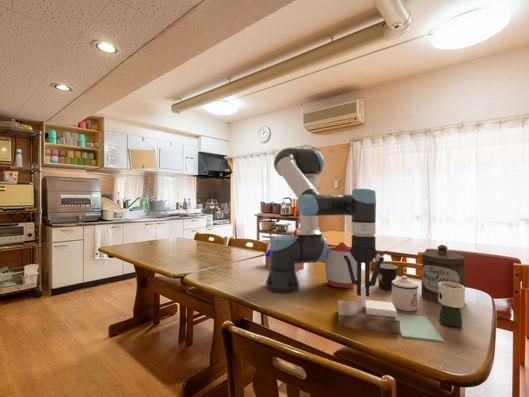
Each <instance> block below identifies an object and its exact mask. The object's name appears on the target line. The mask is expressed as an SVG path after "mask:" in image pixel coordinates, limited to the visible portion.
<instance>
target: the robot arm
mask: <svg viewBox="0 0 529 397" xmlns="http://www.w3.org/2000/svg"><path fill="white" fill-rule="evenodd" d="M273 166H274V170H275V171H276V173H277V174H278V175H279V176H280V177H282V178H283V179H284V181H285V182H286V184H287V185H288V187H289V188H290V189H291V191H292V192H293V193H294V195H295V196H296V198H297V201H296V206H297V211H298V213H299V231H298V232H297V233H296V235H293V234H283V235H277V236H274V237H272V238H271V239H270V242H269V243H270V244H269V249H270V268H269V272H268V274H267V278H266V280H265V289H266V290H268V291H269V292H272V293H277V294H278V293H279V294H290V293H295V292H297V291H298V290H299V289H300V282H299V278H298V275H297V272H296V271H295V265H296V264H300V263H304V264H309V263H310V264H311V263H313V264H314V263H320V262H323V261H324V260H325V257H326V255H327V251H328V246H329V245H328V242H327V239H326V238H325V237H324V236H323V233H322V232H321V231H320V230H319V216H323V217H324V216H351V234H352V235H351V246H350V247H351V249H350V252H349V253H347V254H344V259H345V260H346V262H347V265H348V269H349V273H350V277H351V281H352V284H354V286H355V285H356V294H357V296H358V297H359V301H360V305H361V307H366V300H367V297H369V296H370V288H371V287H372V286H373V287H374V286H376V283H377V280H378V273H379V269H380V265H381V264H383V262H384V261H385V257H384V256H382V255H380V254H379V253H378V252H377V248H376V236H375V235H376V219H377V218H376V215H377V214H376V213H377V197H376V196H377V195H376V194H377V193H376V190H375V189H373V188H354V189H352V191H351V194H345V193H344V194H321V193H320V192H319V191H318V190H317V179H318V178H319V177H320V174H321V173H322V172H323V170H324V157H323V155H322V154H321V152H320V151H319V150H317V149H312V148H297V147H296V148H295V147H294V148H293V147H287V148H286V147H285V148H284V149H281V150H280V151H279V152H278V153H277V154H276V156H275V157H274V161H273ZM351 255H352V256H353V258H354V259H355V260H356V262H357V279H356V280H355V278H354V274H353V270H352V266H351V262H350V259H351ZM374 259H375V263H374V268H373V270H372V275H371V276H370V269H371V268H370V267H371V266H370V265H371V263H372V261H373V260H374ZM363 264H364V284H362V266H363Z"/></svg>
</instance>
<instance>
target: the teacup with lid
mask: <svg viewBox="0 0 529 397" xmlns="http://www.w3.org/2000/svg"><path fill="white" fill-rule="evenodd" d="M391 284H392V291H391V302H392V303H393V305H394V307H395V309H396V310H400V311H404V312H415V311H417V310H418V289H419V284H418V283H417V282H414V281H413V280H411V279H409V278H408V276H406V275H402V276H401V277H399V278H396V279H395V280H393V281H392V282H391Z"/></svg>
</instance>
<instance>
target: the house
mask: <svg viewBox="0 0 529 397" xmlns="http://www.w3.org/2000/svg"><path fill="white" fill-rule="evenodd" d="M264 256H265V258H264V260H265V262H264V263H265V266H267V267H266V268H269V267H270V248H268V250H267V251H266V253H265V254H264ZM265 266H264V267H265ZM304 268H305V263H300V264H296V265H295V271H296V273H297V272H299V270H300V271H301V270H302V271H303V270H304Z"/></svg>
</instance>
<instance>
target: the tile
mask: <svg viewBox="0 0 529 397" xmlns="http://www.w3.org/2000/svg"><path fill="white" fill-rule="evenodd" d="M365 311H366V314H372V315H381V316H390V317H397V314H398V312H397V311H398V310H397V308H395V307H394V305H393V303H392V301H390V302H389V301H383V300H382V301H381V300H370V299H366V307H365Z"/></svg>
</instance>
